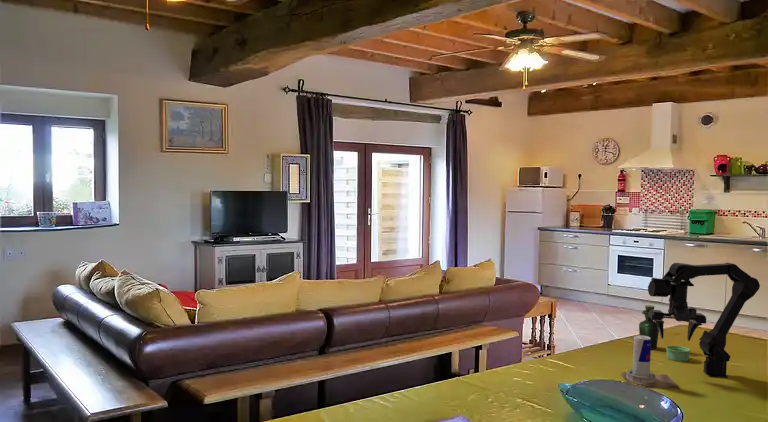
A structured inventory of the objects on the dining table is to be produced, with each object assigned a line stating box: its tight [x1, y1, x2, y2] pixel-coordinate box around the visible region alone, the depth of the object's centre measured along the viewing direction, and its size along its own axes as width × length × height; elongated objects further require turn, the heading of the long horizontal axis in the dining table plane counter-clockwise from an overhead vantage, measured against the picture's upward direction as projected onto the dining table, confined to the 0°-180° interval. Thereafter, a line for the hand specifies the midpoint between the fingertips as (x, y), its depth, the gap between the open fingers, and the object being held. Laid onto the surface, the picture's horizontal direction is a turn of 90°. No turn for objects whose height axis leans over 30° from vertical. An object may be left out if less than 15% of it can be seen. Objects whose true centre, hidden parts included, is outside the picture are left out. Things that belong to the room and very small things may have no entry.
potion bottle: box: [638, 304, 660, 350], centre depth 270 cm, size 8×8×18 cm
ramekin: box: [665, 345, 691, 363], centre depth 253 cm, size 9×9×4 cm
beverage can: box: [632, 334, 652, 377], centre depth 223 cm, size 6×6×15 cm
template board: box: [620, 368, 680, 390], centre depth 223 cm, size 16×13×3 cm
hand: (675, 339), depth 232 cm, fingers open, 9 cm apart
